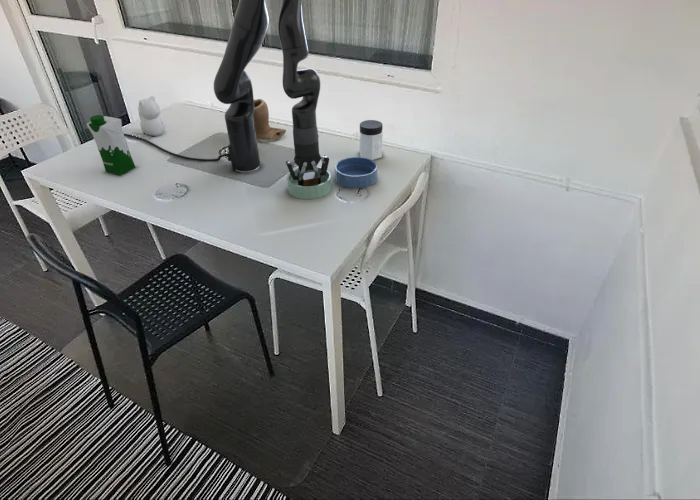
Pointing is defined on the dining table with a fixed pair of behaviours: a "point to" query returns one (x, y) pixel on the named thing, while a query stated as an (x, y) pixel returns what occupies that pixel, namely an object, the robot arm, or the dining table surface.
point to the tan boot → (264, 122)
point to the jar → (371, 139)
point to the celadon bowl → (309, 191)
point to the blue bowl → (356, 172)
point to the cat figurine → (150, 117)
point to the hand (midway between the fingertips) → (309, 187)
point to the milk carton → (111, 144)
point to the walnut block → (310, 179)
